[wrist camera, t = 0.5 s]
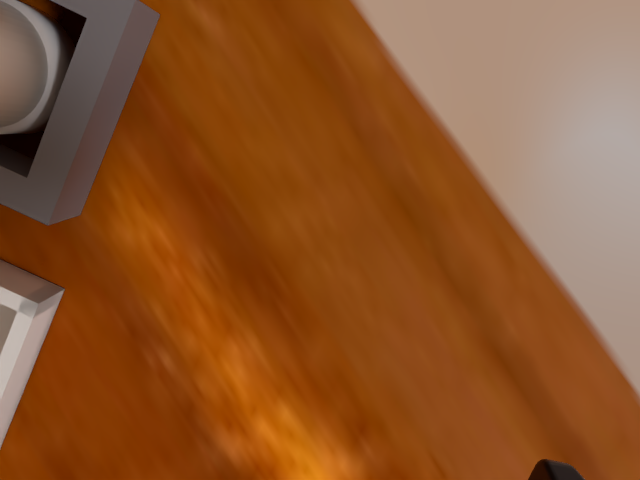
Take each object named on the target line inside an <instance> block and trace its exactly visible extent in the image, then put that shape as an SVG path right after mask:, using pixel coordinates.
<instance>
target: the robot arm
mask: <svg viewBox="0 0 640 480" xmlns="http://www.w3.org/2000/svg"><path fill="white" fill-rule="evenodd" d="M528 480H585V479H584V478H583V477H582V476H581V475H580V474H579V472H578V471H577V470H576V469H575V468H574V467H572V466H571V465H569V464H567V463H563V462H558V461H552V460H547V459H542V460H540V461H539V462H537V464H536V465H535V467H534V469H533V471H532V473H531V475H530V477H529V479H528Z"/></svg>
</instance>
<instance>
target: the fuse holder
mask: <svg viewBox="0 0 640 480" xmlns="http://www.w3.org/2000/svg"><path fill="white" fill-rule="evenodd" d="M51 1H53V2H55V3H57V4H59V5H61V6H63V7H65V8H67V9H69V10H71V11H74V12H76V13H78V14H80V15H82V16H84V17H86V18H87V20H86V22H85V25H84V28H83V30H82V33H81V35H80V38H79V41H78V43H77V46H76V49H75V51H74V54H73V57H72V59H71V62H70V65H69V67H68V70H67V73H66V75H65V78H64V81H63V83H62V86H61V89H60V91H59V94H58V97H57V99H56V102H55V105H54V107H53V110H52V113H51V115H50V118H49V121H48V123H47V126H46V129H45V131H44V134H43V137H42V139H41V142H40V145H39V147H38V150H37V153H36V155H35V158H34V159H32V158H30V157H27V156H25V155H23V154H21V153H19V152H17V151H15V150H13V149H10V148H8V147H6V146H4V145H2V144H0V204H3V205H5V206H7V207H9V208H11V209H13V210H15V211H18V212H20V213H22V214H24V215H26V216H28V217H31V218H33V219H35V220H37V221H39V222H41V223H44V224H46V225H51V224H54V223H57V222H60V221H63V220H66V219H69V218H73V217H76V216H79V215H80V214H81V212H82V209H83V207H84V204H85V202H86V199H87V197H88V194H89V192H90V189H91V187H92V184H93V182H94V179H95V177H96V174H97V172H98V169H99V167H100V164H101V162H102V159H103V157H104V154H105V152H106V149H107V147H108V144H109V142H110V139H111V137H112V134H113V132H114V129H115V127H116V124H117V122H118V119H119V117H120V114H121V112H122V109H123V107H124V104H125V102H126V99H127V97H128V94H129V92H130V89H131V87H132V84H133V82H134V79H135V77H136V74H137V72H138V69H139V67H140V64H141V62H142V59H143V57H144V54H145V52H146V49H147V47H148V44H149V42H150V39H151V37H152V34H153V32H154V29H155V26H156V24H157V21H158V19H159V16H160V14H158V13H157V12H155V11H154V10H152V9H151V8H149V7H148V6H146V5H145V4H143V3H142V2H140V1H139V0H51Z"/></svg>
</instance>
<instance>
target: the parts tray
mask: <svg viewBox="0 0 640 480" xmlns="http://www.w3.org/2000/svg"><path fill="white" fill-rule="evenodd" d="M64 290H65V289H64V288H62V287H60V286H57V285H55V284H53V283H51V282H49V281H47V280H44V279H42V278H40V277H38V276H36V275H33V274H31V273H29V272H27V271H25V270H22V269H20V268H18V267H16V266H14V265H12V264H9V263H7V262H5V261H3V260H1V259H0V448H1V445H2V443H3V441H4V438H5V436H6V433H7V431H8V428H9V426H10V423H11V421H12V418H13V416H14V413H15V411H16V408H17V406H18V403H19V401H20V398H21V396H22V394H23V391H24V389H25V386H26V384H27V381H28V379H29V376H30V374H31V371H32V369H33V366H34V364H35V361H36V359H37V356H38V354H39V351H40V349H41V347H42V344H43V342H44V339H45V337H46V334H47V332H48V329H49V327H50V324H51V322H52V319H53V317H54V314H55V312H56V309H57V307H58V304H59V302H60V300H61V297H62V295H63V292H64Z"/></svg>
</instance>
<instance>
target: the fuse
mask: <svg viewBox="0 0 640 480" xmlns="http://www.w3.org/2000/svg"><path fill="white" fill-rule="evenodd" d="M74 51H75V46H74V44H73V42H72V40H71V39H70V37H69V35H68V34H67V32H66V31H65V30H64V29H63V27H62V26H61V25H60V24H59V23H58V22H57V21H56V20H55V19H53V18H52V17H51V16H49V15H48V14H46V13H45V12H43V11H41V10H39V9H37V8H34V7H32V6H29V5H27V4H24V3H22V2H19V1H17V0H0V134H31V133H37V132H41V131H44V130H45V129H46V126H47V123H48V121H49V118H50V115H51V113H52V110H53V107H54V105H55V102H56V99H57V97H58V94H59V91H60V89H61V86H62V83H63V81H64V78H65V75H66V73H67V70H68V67H69V65H70V62H71V59H72V57H73V54H74Z"/></svg>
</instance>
